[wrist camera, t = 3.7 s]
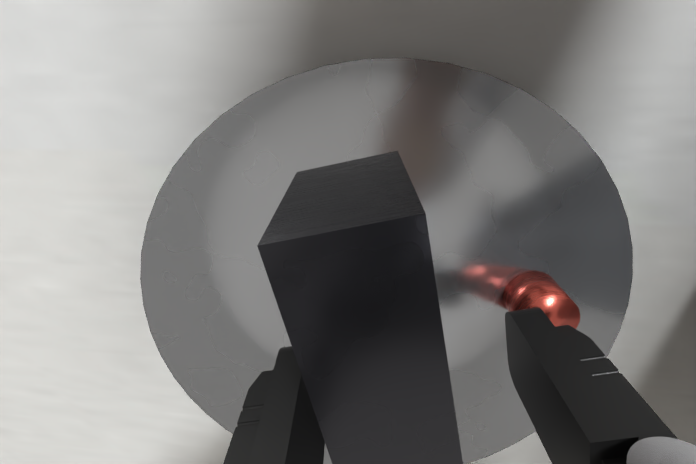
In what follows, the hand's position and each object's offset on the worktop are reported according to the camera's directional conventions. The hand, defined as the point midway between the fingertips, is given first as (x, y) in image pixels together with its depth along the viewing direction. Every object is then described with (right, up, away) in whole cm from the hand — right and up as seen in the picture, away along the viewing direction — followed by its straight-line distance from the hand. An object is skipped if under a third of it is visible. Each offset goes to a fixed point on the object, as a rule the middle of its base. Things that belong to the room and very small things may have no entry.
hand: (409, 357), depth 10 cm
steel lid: (-1, +2, +3) cm, 4 cm away
